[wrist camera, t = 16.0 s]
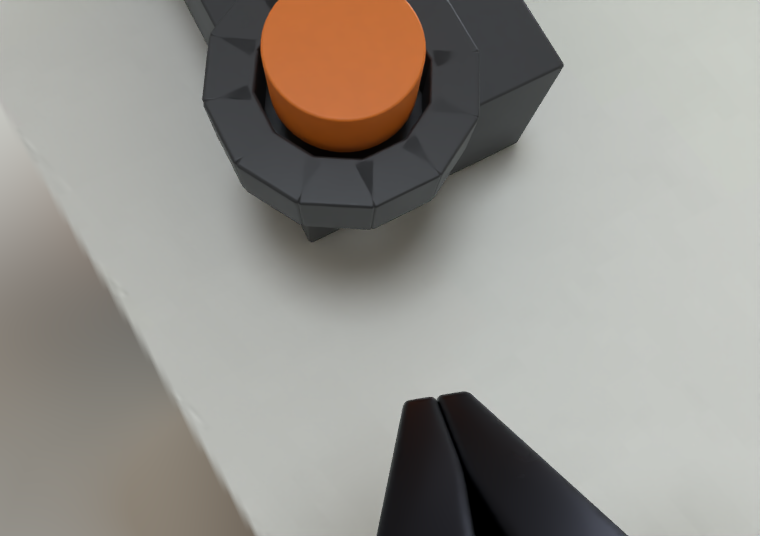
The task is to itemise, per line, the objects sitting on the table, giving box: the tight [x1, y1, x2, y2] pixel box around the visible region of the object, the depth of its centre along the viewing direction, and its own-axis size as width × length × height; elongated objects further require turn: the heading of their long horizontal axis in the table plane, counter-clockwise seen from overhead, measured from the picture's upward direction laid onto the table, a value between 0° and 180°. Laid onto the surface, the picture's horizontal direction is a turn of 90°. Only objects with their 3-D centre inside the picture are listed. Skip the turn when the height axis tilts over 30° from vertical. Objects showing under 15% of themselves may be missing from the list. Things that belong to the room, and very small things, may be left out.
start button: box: [260, 0, 426, 152], centre depth 15 cm, size 4×4×2 cm
